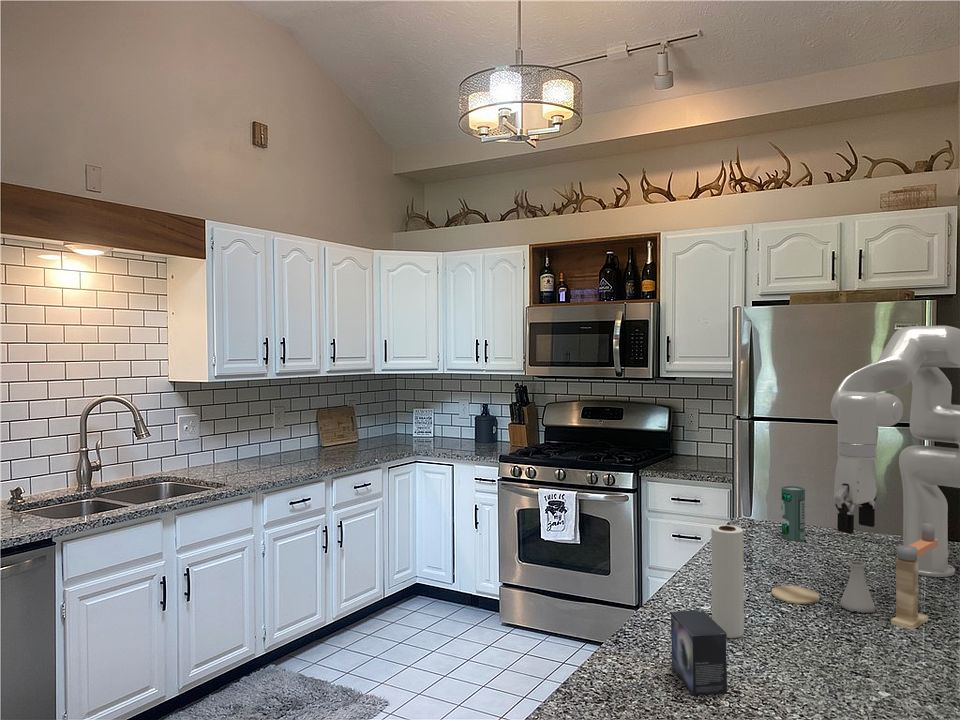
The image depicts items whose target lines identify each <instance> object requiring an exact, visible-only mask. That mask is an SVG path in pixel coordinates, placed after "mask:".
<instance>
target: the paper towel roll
mask: <svg viewBox="0 0 960 720" xmlns="http://www.w3.org/2000/svg"><path fill="white" fill-rule="evenodd" d="M744 565H745V564H744V529H743V528H742V527H740V526H738V525H735V524H733V523H731V522H730V524H729V525H728V524H720V525H713V526H712V527H711V619H713V620H714V621H715V622H716V623H717V624H718V625H719V626H720V627H721V628H722V629H723V630H724V631H725V632H726V633H727V638H728V639H729V638H730V639H737V638H741V637H744V633H745V615H744V613H745V612H744V611H745V608H744V607H745V606H744V605H745V601H744V598H745V597H744V596H745V595H744V593H745V591H744V590H745V589H744V588H745V587H744V583H745V582H744V581H745V580H744V578H745V577H744V575H745V574H744V570H745V569H744ZM727 638H726V639H727Z"/></svg>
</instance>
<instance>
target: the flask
mask: <svg viewBox="0 0 960 720" xmlns="http://www.w3.org/2000/svg"><path fill="white" fill-rule="evenodd" d="M848 563H849V566H850V575H849V579H848V581H847V584H846V586H845V589H844V591H843V594H842V596H841V598H840V601H839V607H841V606H842V607H841V608H843V607H844V608H845V610H846V609H847V610H846V611H848V610H851V611H850V612H854V611H857V612H856V613H860V612H861V613H862V614H865V613H866V614H868V613H876V606H875V603H874V600H873V597H872V596H871V595H872V594H871V593H870V590H869V586H868V583H867V582H866V575H865V568H866V562H864V561H860V560H859V561H858V560H849V562H848ZM844 608H843V609H844Z"/></svg>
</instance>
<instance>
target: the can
mask: <svg viewBox="0 0 960 720" xmlns="http://www.w3.org/2000/svg"><path fill="white" fill-rule="evenodd" d="M781 538H782V539H784V540H787V541H790V542H802V541H805V540H806V488H805V487H802V486H796V485H795V486H794V485H785V486H784V485H783V486H781Z"/></svg>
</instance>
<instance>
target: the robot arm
mask: <svg viewBox="0 0 960 720" xmlns="http://www.w3.org/2000/svg"><path fill="white" fill-rule="evenodd" d="M940 368H957V369H958V368H959V369H960V328H958V327H954V326H949V325H915V326H914V325H912V326H905V327H901V328H899V329H897V330H896V331H895V332H894V333H893V334H892V336H891V337H890V338H889V341H888V343H886V345H885V347H884V348H883V350H882V352H881V353H880V355H879V357H878V359H877V360H876V361H874V362H871V363H869V364H867V365H865V366H863V367H861V368H860V369H858V370H855V371H854V372H852V373H850V374H849V375H847V376H846V377H845V378H844V379H843V380H842V381H841V382H840V384H839V386H838V387H837V389H836V390H835V392H834V393H833V396H832V399H831V402H830V414H831V416H832V417H833V419H835V421H837V461H836V467H835V474H834V490H833V492H834V493H833V499H834V502H835V507H836V514H837V525H836V526H837V528H836V529H837V531H838V532H839V533H840V532H841V533H844V534H851V535H852V534H854V533H855V527H854V526H855V515H854V514H853V512H854V509H855V508H856V507H855V506H858V505H859V506H858V525H860V526H864V527H870V528H874V527H875V523H876V522H875V521H876V519H875V517H876V510H875V509H876V507H877V505H876V501H877V492H878V486H877V475H876V472H877V471H876V463H875V460H877V456H878V455H877V454H878V453H877V452H878V450H877V449H878V447H877V445H878V444H877V439H878V437H877V436H878V434H877V433H878V432H877V431H878V430H877V429H878V427H881V428H882V427H892V426H895V425H896V424H898V423H899V422H900V421H901V419H902V417H903V414H904V406H903V403H902V401H901V399H900V398H899V397H898V396H896V395H895V394H893V393H888V392H887V391H891V390H894V389H899V388H902V387H905V386H907V385H908V384H910V383H911V385H912V390H911V391H912V392H911V401H910V402H911V404H910V415H909V431H910V433H911V435H912V436H913V437H914V438H916V439H919V440H923V441H931V442H941V443H951V444H956V445H958V448H953V447H944V446H943V447H942V446H936V445H935V446H933V445H924V444H923V445H922V444H916V445H909V446H906V447H905V448H904V449H902V450H901V452H900V454H899V457H898V465H899V471H900V476H901V482H902V491H903V492H902V493H903V494H902V495H903V499H902V500H903V505H902V506H903V507H902V508H903V513H902V514H903V519H902V520H903V526H902V528H903V531H902V532H903V535H902V536H903V537H902V538H903V540H902V541H903V544H902V545H907V546H909V545H911V544H913V543H915V542H917V541H919V540H921V539H922V523H931V524H934V525H935V539H938V547H936V548H934V549H932V550H930V551H929V552H927V553H925V554H923V555H921V556H919V557H918V558H917V560H918V576H921V577H923V576H924V577H929V578H930V577H931V578H947V577H948V578H949V577H952V576H954V575H955V574H956V568H955V567H954V566H953V565H951V564H949V563H948V556H949V555H950V552H949V550H948V545H949V544H948V540H949V539H948V527H949V525H948V517H949V516H948V514H949V513H948V511H949V510H948V509H949V507H948V501H947V498H946V496H945V495H944V493H943V492H942V490H941V489H940V488H939V486H942V487H943V486H944V487H950V488H951V487H952V488H957V489H960V404H952V390H953V387H952V384H951V381H950V380H949V379H948V377H947V376H946V375H945V373H944V372H943V371H942V370H941V369H940ZM886 392H887V393H886Z"/></svg>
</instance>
